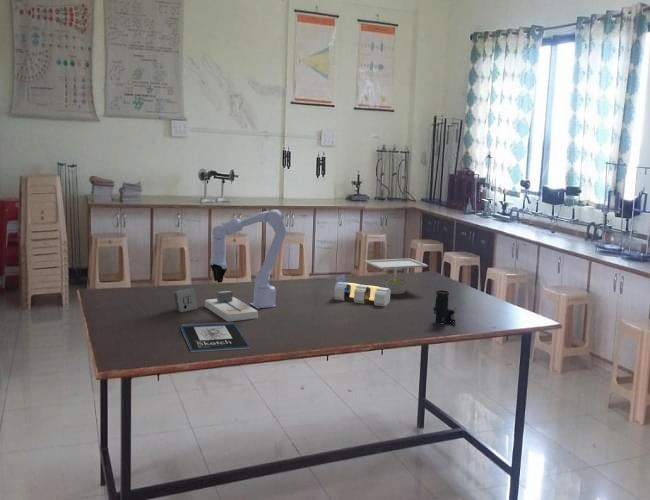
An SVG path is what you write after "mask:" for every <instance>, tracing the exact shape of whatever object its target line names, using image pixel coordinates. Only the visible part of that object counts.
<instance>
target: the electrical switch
mask: <svg viewBox="0 0 650 500" xmlns="http://www.w3.org/2000/svg"><path fill="white" fill-rule="evenodd" d="M173 296H174V303H175V309H176V311H177V312H180V313H185V312H189V311H193V310H197V309H198V304H197V298H196V297H197V296H196V291H195V288H194V287H191V288H186V289H181V290H177V291H176V292H174V293H173Z"/></svg>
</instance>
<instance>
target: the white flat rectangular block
mask: <svg viewBox="0 0 650 500" xmlns="http://www.w3.org/2000/svg"><path fill="white" fill-rule="evenodd" d="M204 307H205V308H206V309H208V310H209V311H211V312H212V313H214V314H215V315H217V316H218V317H220V318H221V319H223V320H225V321H226V322H227V323H228V322H229V323H230V322H235V321H244V320H245V321H246V320H255V319H259V310H257V309H255V307H253V306H251V305H248V304H247V303H245V302H243V301H241V299H239V298H236V297H235V296H232V301H228V302H218V301H217V298H213V299H205V300H204Z"/></svg>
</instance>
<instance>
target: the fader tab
mask: <svg viewBox="0 0 650 500" xmlns="http://www.w3.org/2000/svg"><path fill="white" fill-rule="evenodd" d="M232 297H233V291H231V290H222V291H217V292H216V299H217V301H218V302H228V301H232Z"/></svg>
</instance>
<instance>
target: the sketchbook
mask: <svg viewBox="0 0 650 500" xmlns="http://www.w3.org/2000/svg"><path fill="white" fill-rule="evenodd" d="M180 330H181V332H182V334H183V337H184V339H185V341H186V344H187V346H188V348H189V350H190V352H191V353H199V352H201V353H202V352H214V351H216V352H217V351H231V350H232V351H233V350H246V349H250V348H251V346H250V344H249V343H248V341H247V340H246V339H245V337H244V336H243V334H242V333H241V331H240V329H239V328H238V327H237V325H236V324H235V322H233V321H229V322H227V321H226V322H220V323H219V322H215V323H214V322H211V323H210V322H209V323H193V324H186V323H185V324H184V323H182V325H180Z"/></svg>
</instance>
